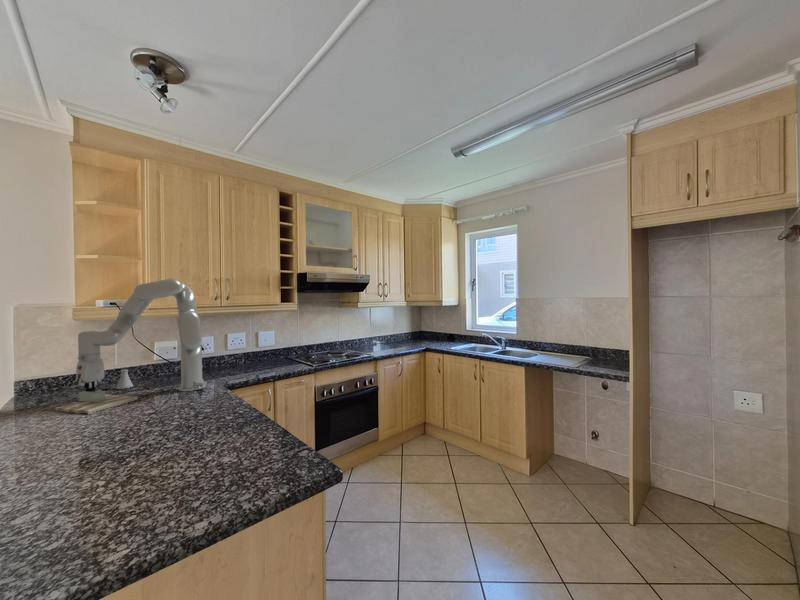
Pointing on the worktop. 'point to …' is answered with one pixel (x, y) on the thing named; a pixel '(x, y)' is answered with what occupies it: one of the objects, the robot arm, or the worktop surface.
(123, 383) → the flask
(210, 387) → the worktop surface
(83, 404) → the lock base
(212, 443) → the worktop surface
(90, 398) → the lock lever
